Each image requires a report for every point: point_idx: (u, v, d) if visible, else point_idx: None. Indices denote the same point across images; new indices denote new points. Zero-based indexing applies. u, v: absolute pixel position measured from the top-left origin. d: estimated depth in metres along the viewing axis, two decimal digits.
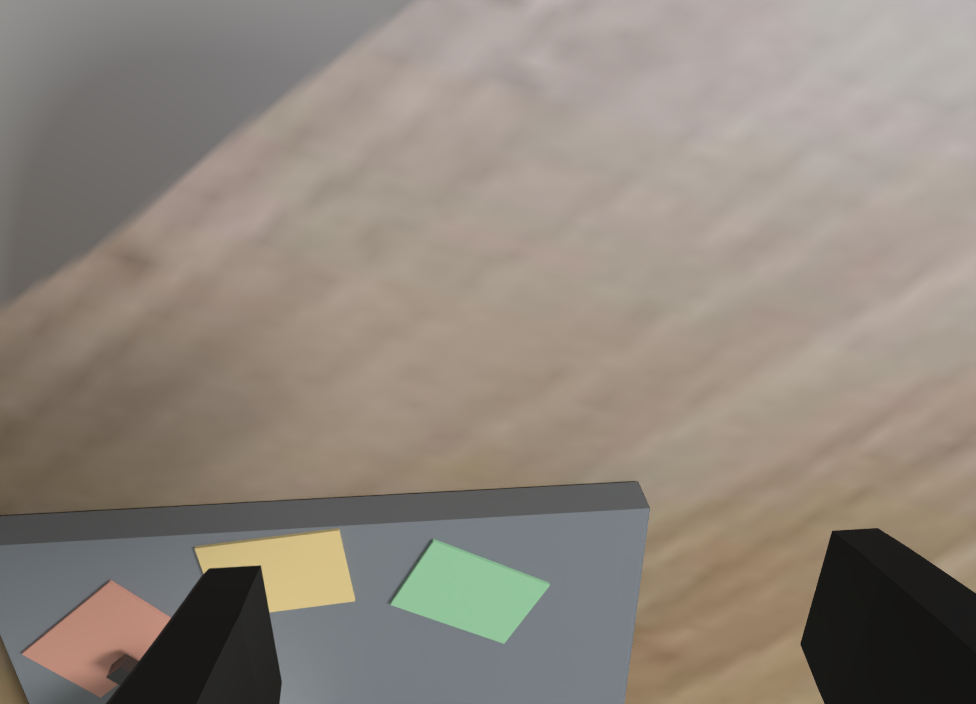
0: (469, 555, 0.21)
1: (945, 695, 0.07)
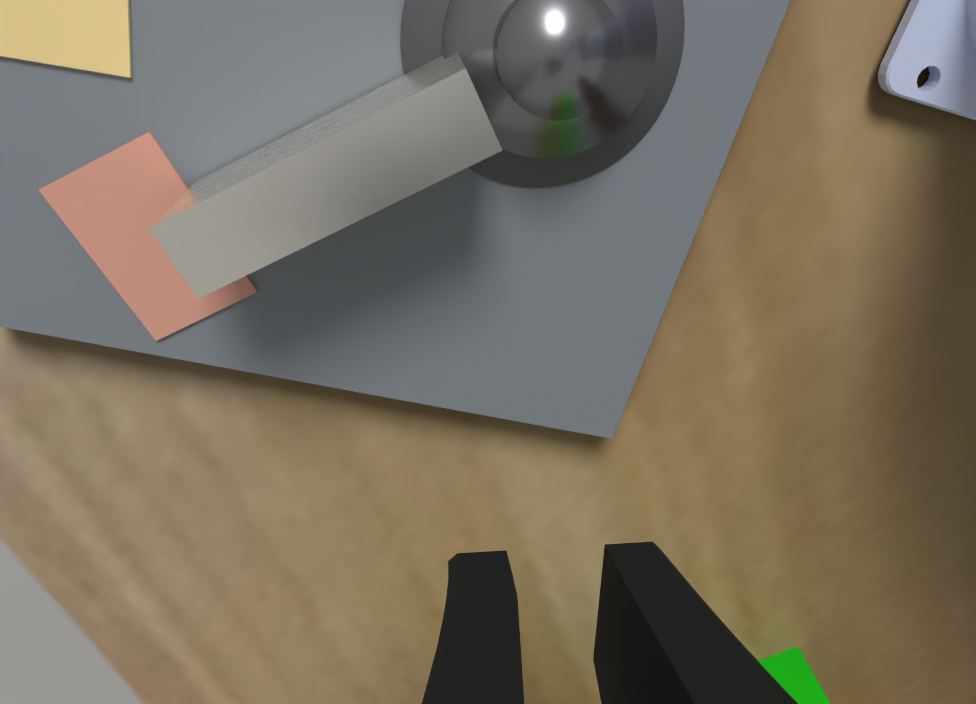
0: None
1: None
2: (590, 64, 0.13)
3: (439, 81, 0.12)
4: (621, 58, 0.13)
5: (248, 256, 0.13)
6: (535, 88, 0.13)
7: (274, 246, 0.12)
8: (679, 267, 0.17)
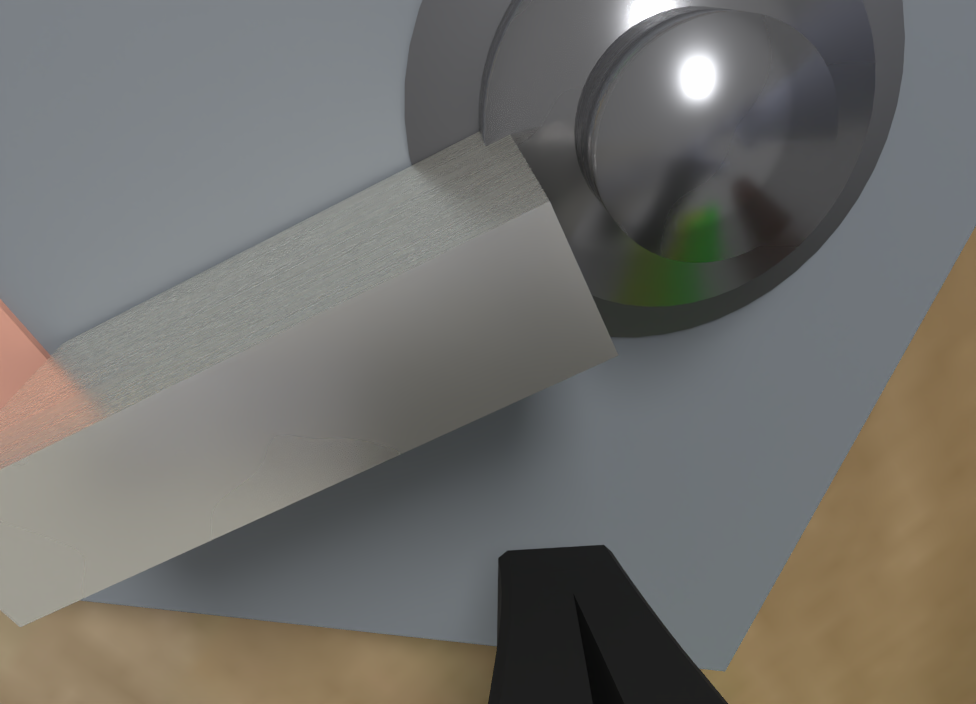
0: None
1: None
2: (772, 161, 0.07)
3: (491, 228, 0.05)
4: (832, 149, 0.07)
5: (109, 555, 0.06)
6: (664, 207, 0.07)
7: (160, 537, 0.06)
8: (849, 444, 0.11)
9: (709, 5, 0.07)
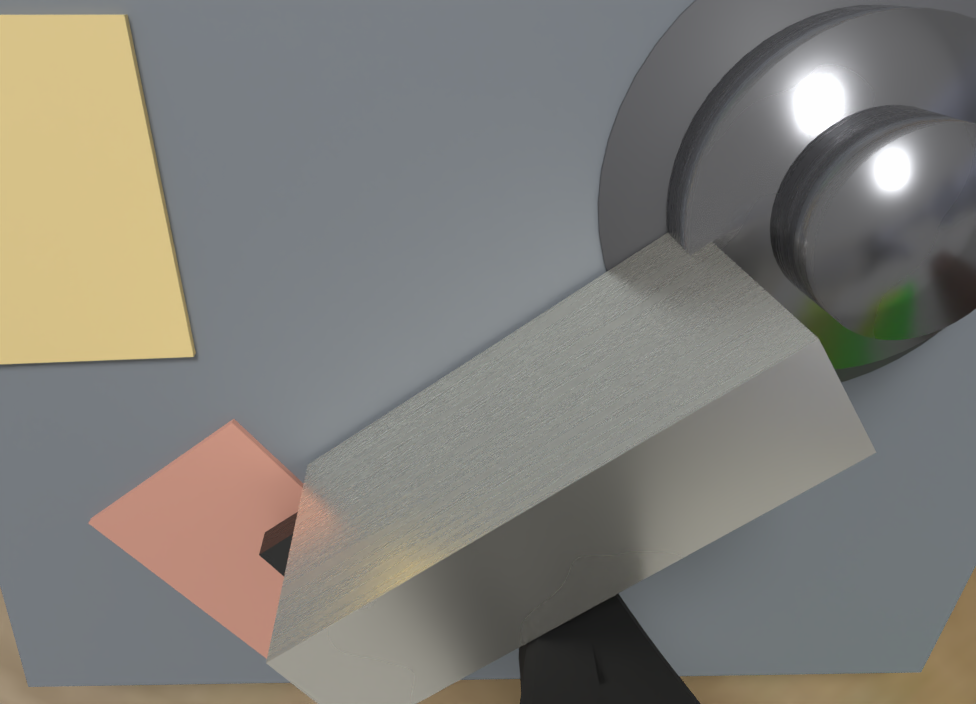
0: None
1: None
2: (975, 243, 0.07)
3: (767, 367, 0.06)
4: None
5: (434, 669, 0.07)
6: (876, 296, 0.07)
7: (477, 650, 0.07)
8: None
9: (891, 103, 0.08)
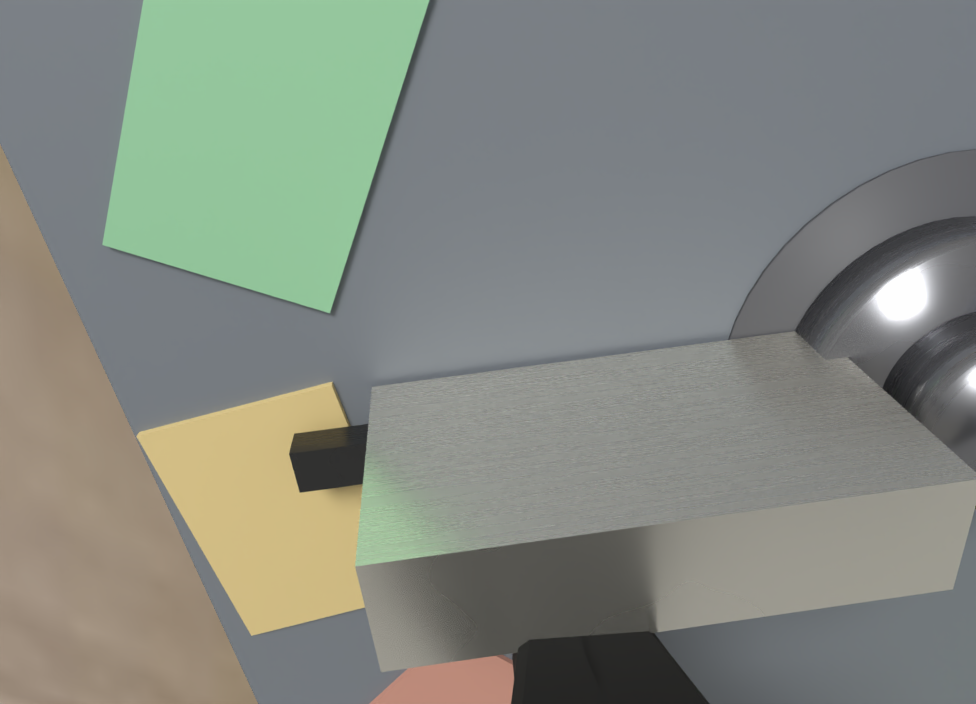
0: (134, 144, 0.08)
1: None
2: None
3: (933, 484, 0.07)
4: None
5: (496, 635, 0.07)
6: None
7: (546, 631, 0.07)
8: None
9: None
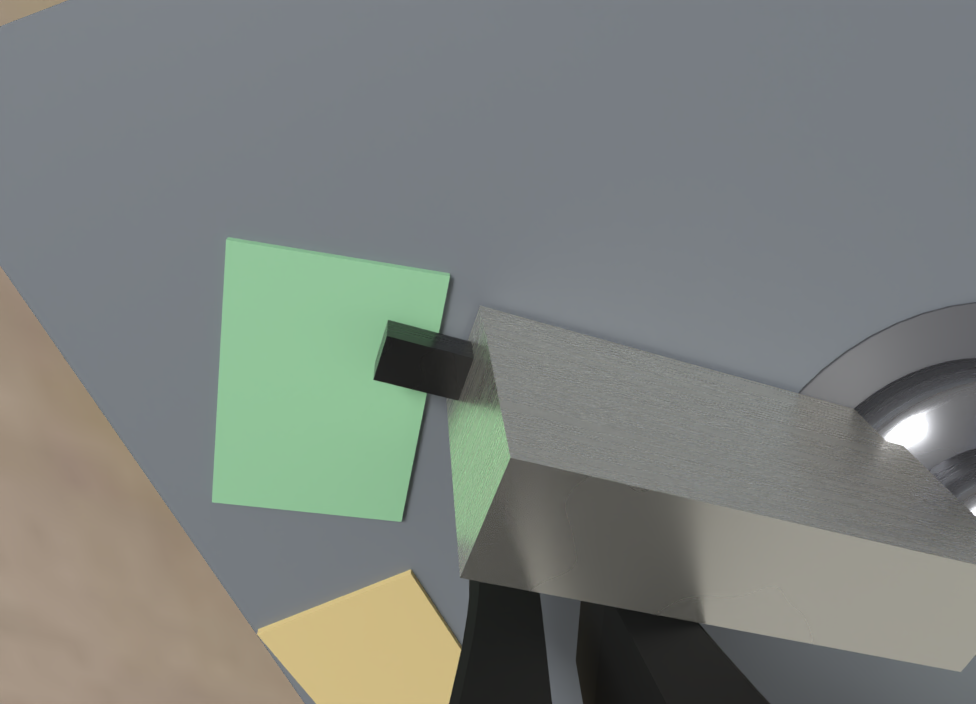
0: (226, 426, 0.10)
1: None
2: None
3: None
4: None
5: (586, 578, 0.07)
6: None
7: (630, 590, 0.07)
8: None
9: None
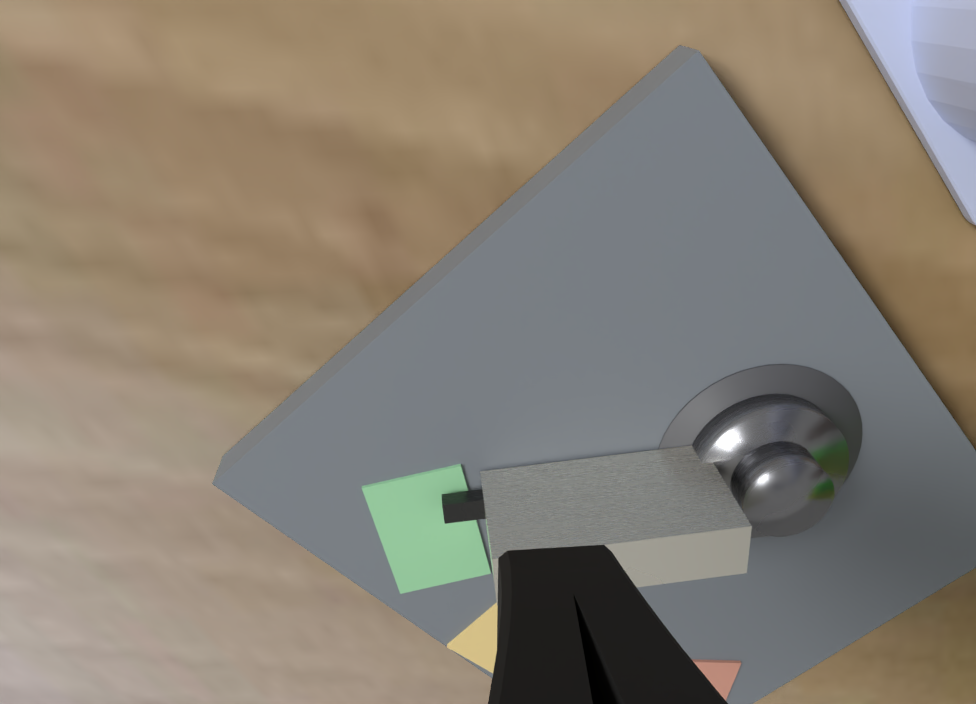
0: (393, 559, 0.20)
1: None
2: (805, 511, 0.18)
3: (731, 528, 0.16)
4: None
5: None
6: (764, 514, 0.18)
7: None
8: (965, 439, 0.20)
9: (799, 443, 0.18)
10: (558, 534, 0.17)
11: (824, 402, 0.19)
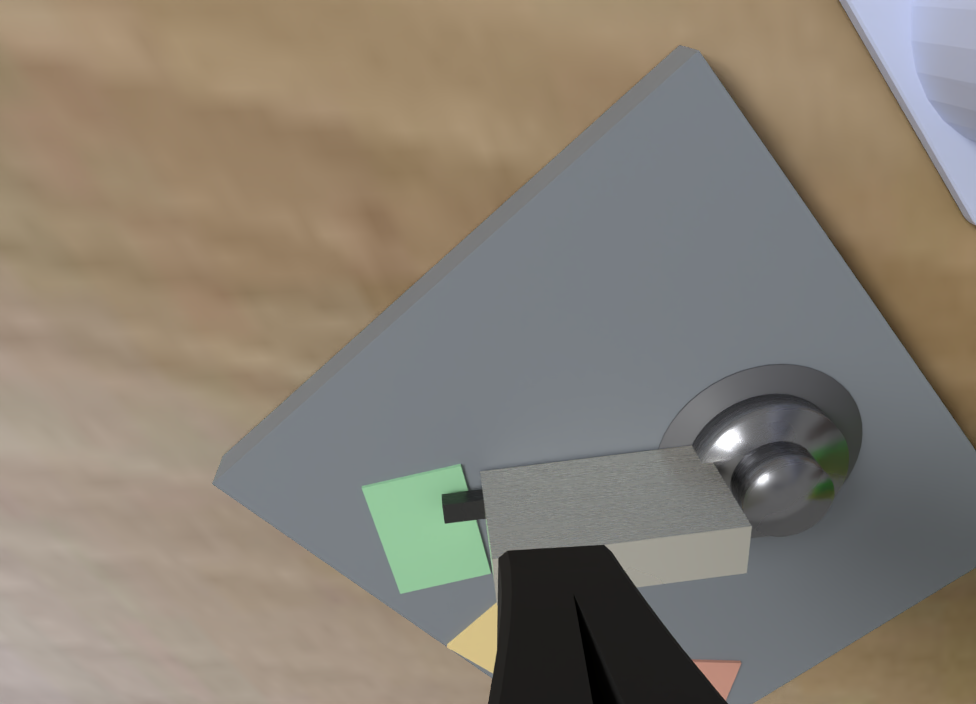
0: (393, 559, 0.20)
1: None
2: (805, 511, 0.18)
3: (731, 528, 0.16)
4: None
5: None
6: (764, 514, 0.18)
7: None
8: (965, 439, 0.20)
9: (799, 443, 0.18)
10: (558, 534, 0.17)
11: (824, 402, 0.19)
